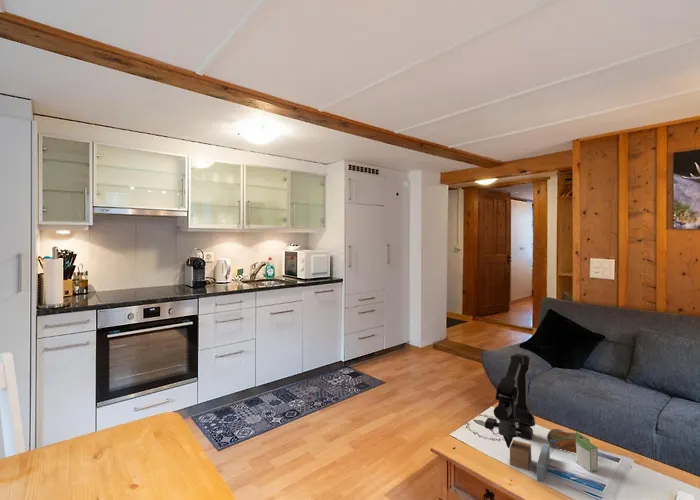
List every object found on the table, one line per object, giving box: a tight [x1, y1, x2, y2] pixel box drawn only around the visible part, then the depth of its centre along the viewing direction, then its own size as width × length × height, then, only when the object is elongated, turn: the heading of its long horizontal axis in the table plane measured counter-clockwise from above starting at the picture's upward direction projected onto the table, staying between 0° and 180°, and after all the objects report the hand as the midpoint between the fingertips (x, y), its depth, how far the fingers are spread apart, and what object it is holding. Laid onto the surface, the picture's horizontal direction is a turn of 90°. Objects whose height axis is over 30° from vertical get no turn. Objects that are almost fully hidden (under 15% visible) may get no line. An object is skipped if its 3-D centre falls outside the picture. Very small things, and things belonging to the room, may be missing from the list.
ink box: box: [575, 431, 599, 472], centre depth 151 cm, size 7×4×13 cm, turn 12°
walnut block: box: [509, 439, 532, 471], centre depth 155 cm, size 8×7×7 cm
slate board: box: [536, 442, 551, 484], centre depth 150 cm, size 20×2×6 cm, turn 145°
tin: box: [546, 428, 584, 454], centre depth 163 cm, size 15×3×8 cm, turn 53°
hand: (508, 447), depth 157 cm, fingers closed
